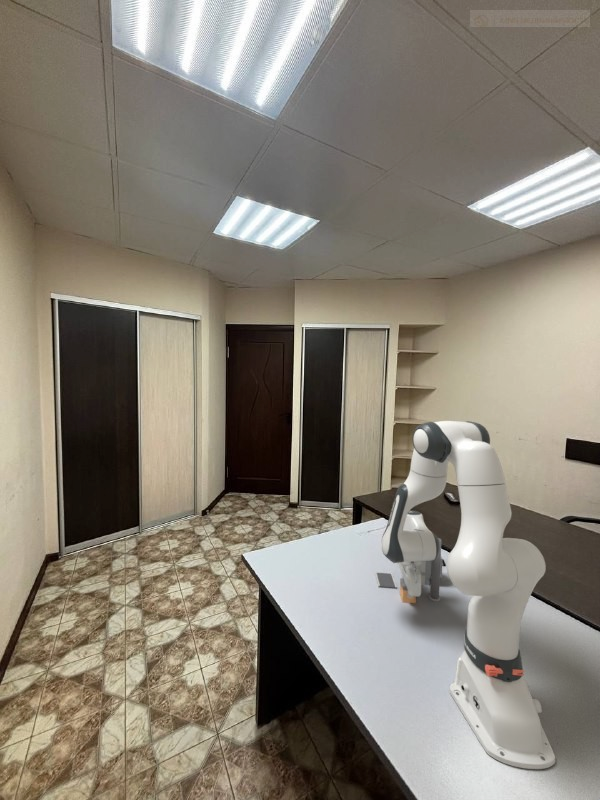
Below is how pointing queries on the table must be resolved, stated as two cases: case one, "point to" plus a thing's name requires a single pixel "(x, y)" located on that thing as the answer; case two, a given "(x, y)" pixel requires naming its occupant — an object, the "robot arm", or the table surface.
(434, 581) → the cord posts
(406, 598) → the orange and grey block
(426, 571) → the circuit breaker
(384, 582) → the mat
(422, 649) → the table surface
